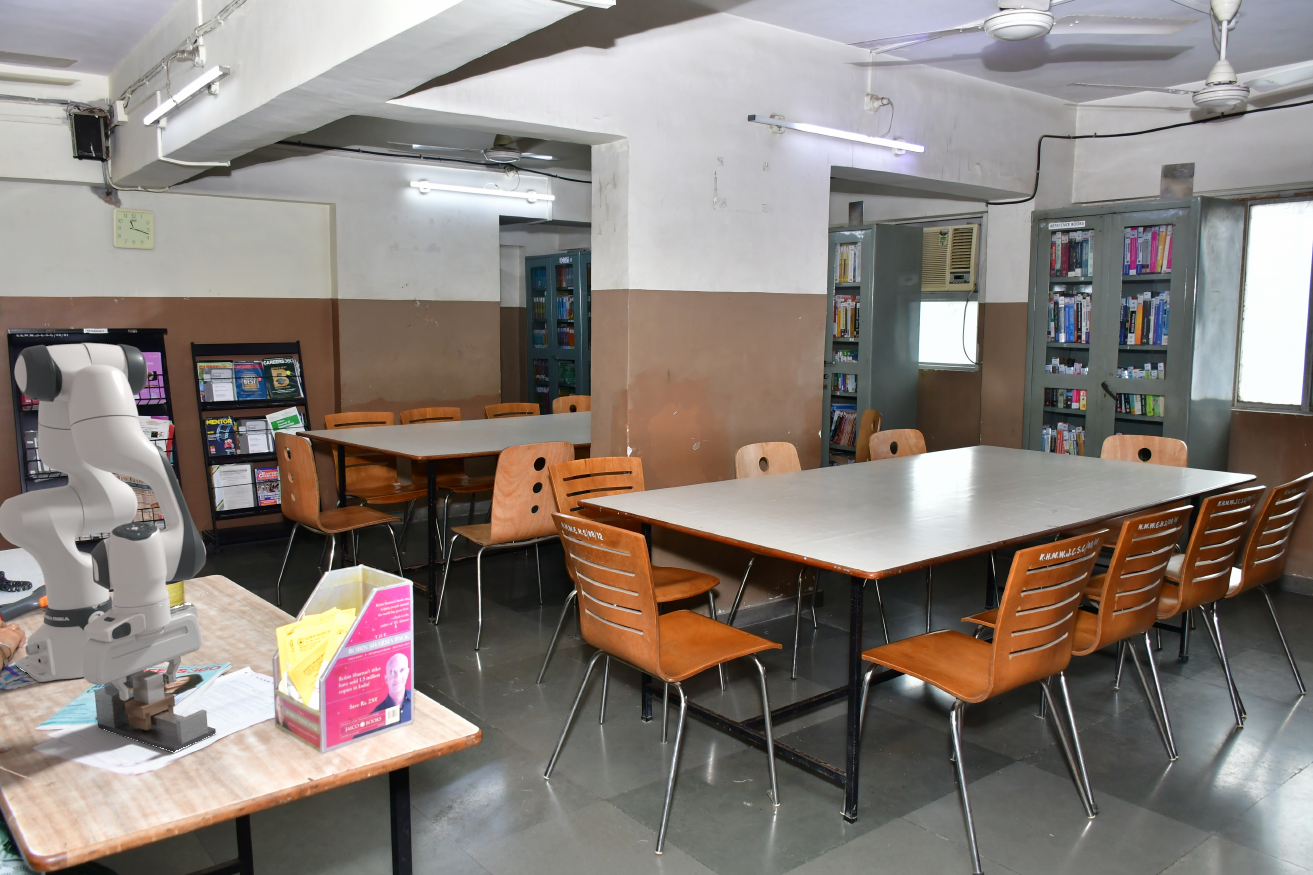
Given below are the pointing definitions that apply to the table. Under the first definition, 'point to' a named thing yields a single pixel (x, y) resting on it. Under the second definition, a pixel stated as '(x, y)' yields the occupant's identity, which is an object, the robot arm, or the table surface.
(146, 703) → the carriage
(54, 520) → the robot arm
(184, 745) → the grey stepped block fixture
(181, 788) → the table surface
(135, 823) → the table surface
